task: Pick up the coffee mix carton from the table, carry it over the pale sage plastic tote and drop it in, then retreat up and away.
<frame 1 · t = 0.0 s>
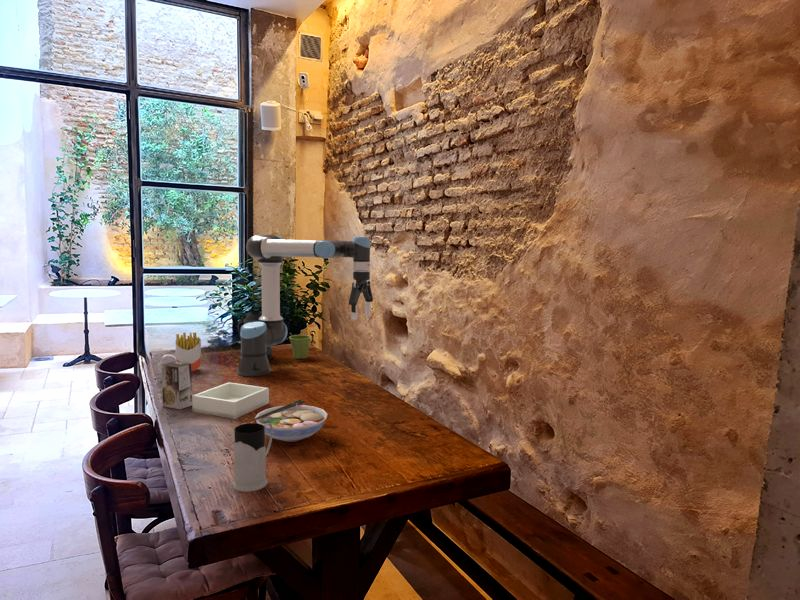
hand: (361, 317, 243), 28 cm above the table, fingers open, 13 cm apart
watch: (167, 379, 238), on the table
french fries container: (188, 370, 254), on the table
plant pot: (300, 357, 286), on the table
tote: (231, 407, 201), on the table
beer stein: (253, 358, 282), on the table
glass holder: (256, 480, 142), on the table
ramen bowl: (291, 438, 171), on the table
coffee box: (177, 406, 202), on the table
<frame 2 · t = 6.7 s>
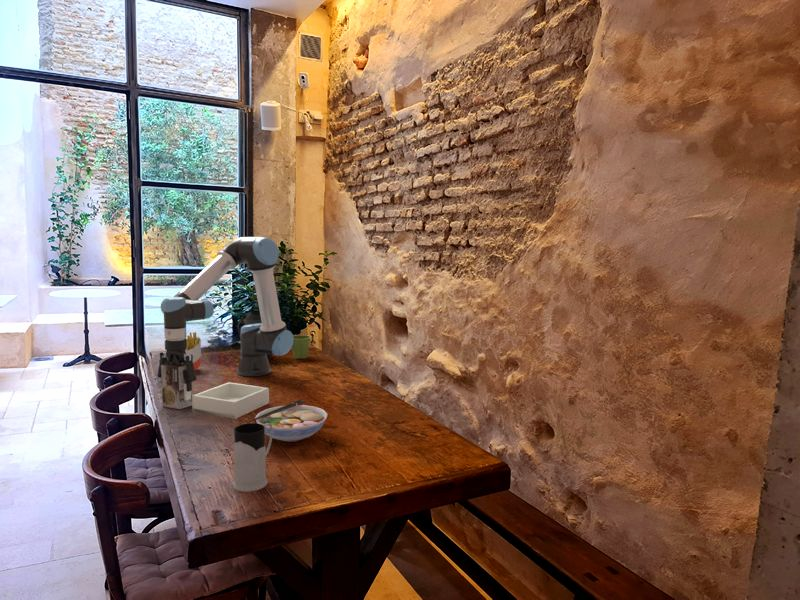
hand: (177, 397, 201), 3 cm above the table, fingers closed on coffee box, 9 cm apart
coffee box: (177, 406, 202), on the table, touching gripper
everything else where it was.
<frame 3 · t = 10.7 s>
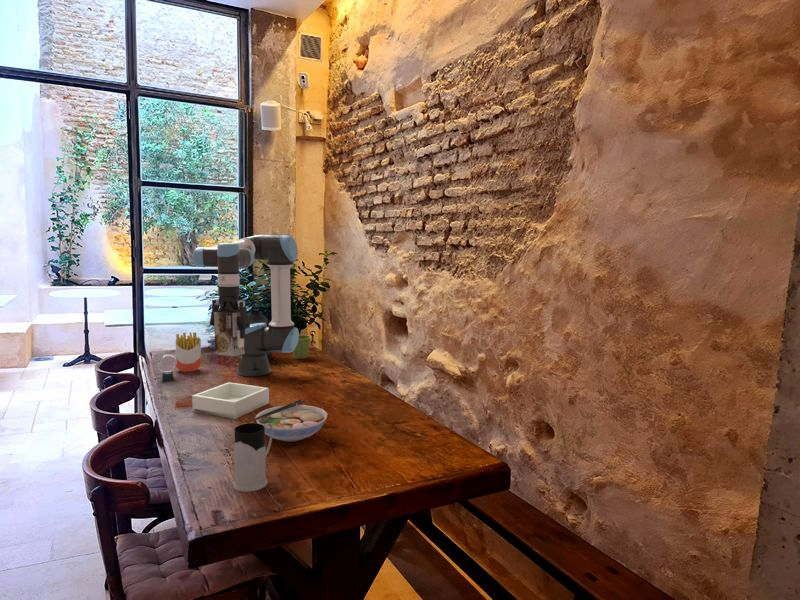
hand: (229, 345, 198), 23 cm above the table, fingers closed on coffee box, 9 cm apart
coffee box: (229, 354, 199), point 20 cm above the table, touching gripper
everything else where it was.
when the fingers open (6 cm above the table, at t = 14.5 s): coffee box drops 2 cm, resting on tote.
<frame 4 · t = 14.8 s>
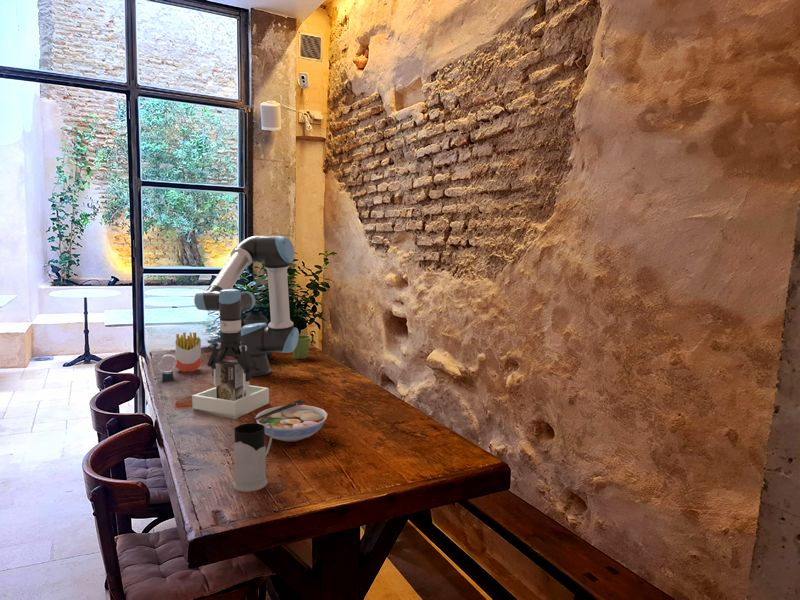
hand: (231, 387, 200), 8 cm above the table, fingers open, 13 cm apart
coffee box: (231, 404, 201), point 1 cm above the table, touching tote
everything else where it was.
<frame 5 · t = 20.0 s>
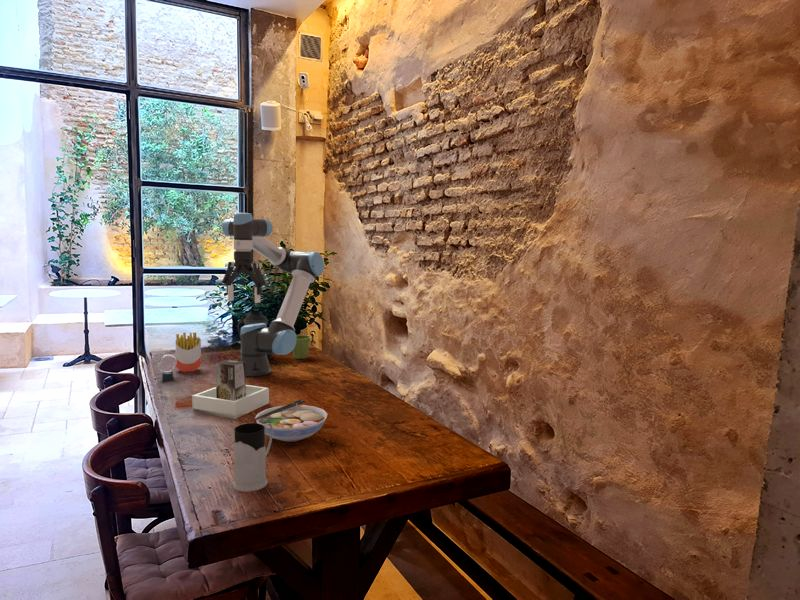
hand: (244, 301, 223), 37 cm above the table, fingers open, 13 cm apart
nothing on the table moved.
at the end: coffee box inside the target area on the tote (0.3 cm from its centre), point 1.0 cm above the tote's base; the gripper is holding nothing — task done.
